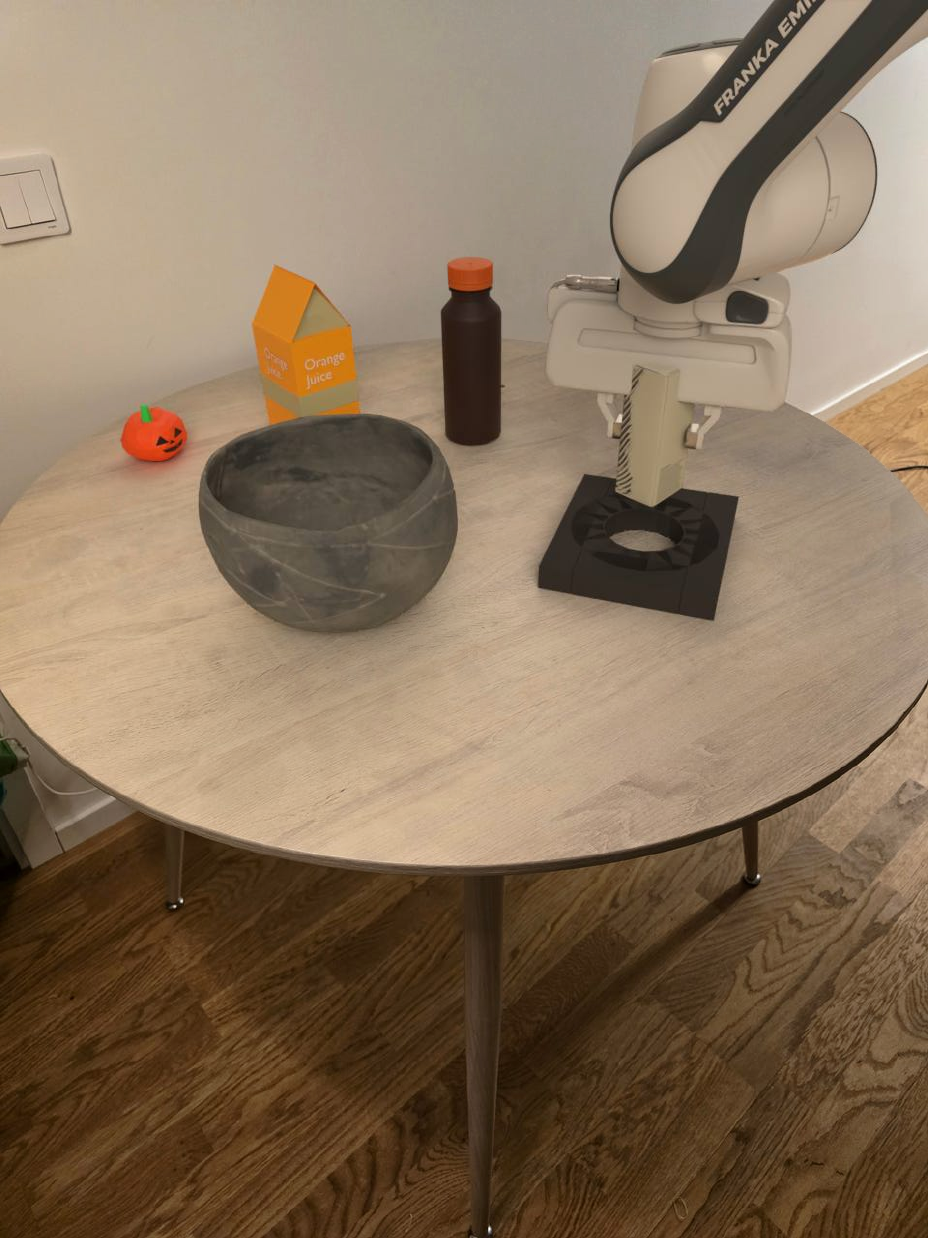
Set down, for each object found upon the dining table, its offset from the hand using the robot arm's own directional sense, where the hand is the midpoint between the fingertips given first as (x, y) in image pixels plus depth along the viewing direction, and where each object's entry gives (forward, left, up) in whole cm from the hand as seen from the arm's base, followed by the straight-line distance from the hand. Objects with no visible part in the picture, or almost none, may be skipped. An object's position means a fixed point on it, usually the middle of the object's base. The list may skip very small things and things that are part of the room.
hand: (655, 441), depth 77 cm
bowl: (+24, +17, -12) cm, 32 cm away
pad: (0, 0, -12) cm, 12 cm away
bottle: (+24, -19, -12) cm, 33 cm away
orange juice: (+41, -11, -12) cm, 44 cm away
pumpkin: (+58, -3, -12) cm, 59 cm away
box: (0, 0, -5) cm, 5 cm away
